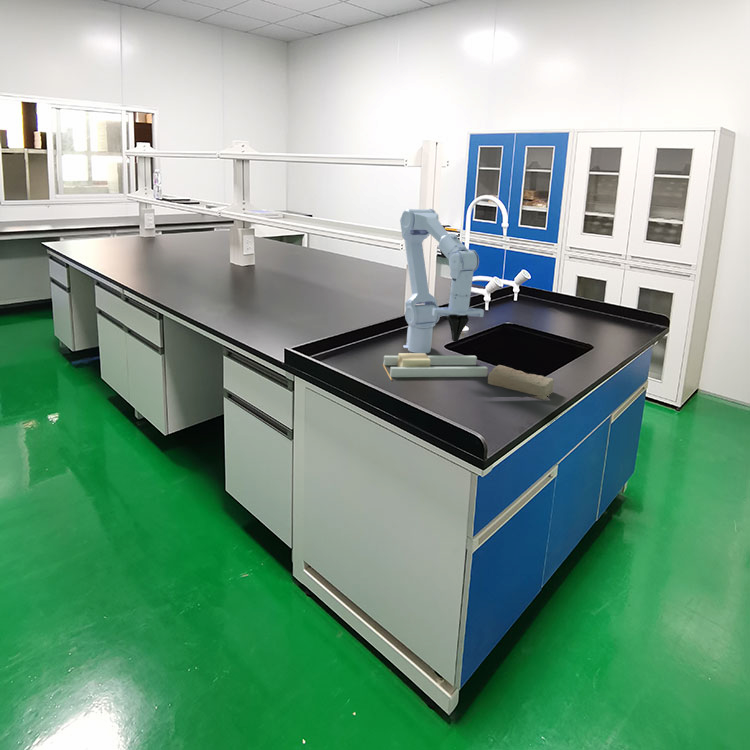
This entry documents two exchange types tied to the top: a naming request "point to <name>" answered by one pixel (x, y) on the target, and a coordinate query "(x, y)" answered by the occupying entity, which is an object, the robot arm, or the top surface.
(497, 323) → the top surface
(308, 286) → the top surface
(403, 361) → the block
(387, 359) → the chute
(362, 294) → the top surface
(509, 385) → the brick
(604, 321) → the top surface
